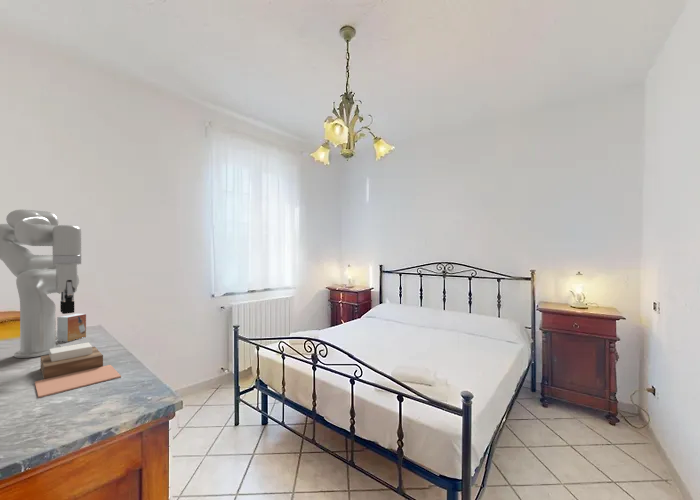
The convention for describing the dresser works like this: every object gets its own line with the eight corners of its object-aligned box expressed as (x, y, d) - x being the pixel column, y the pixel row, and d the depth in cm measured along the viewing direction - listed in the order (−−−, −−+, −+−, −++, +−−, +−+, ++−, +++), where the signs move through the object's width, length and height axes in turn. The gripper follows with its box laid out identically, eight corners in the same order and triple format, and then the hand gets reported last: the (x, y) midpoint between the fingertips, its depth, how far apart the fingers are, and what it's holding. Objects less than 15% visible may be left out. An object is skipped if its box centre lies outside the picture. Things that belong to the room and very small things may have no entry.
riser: (40, 368, 103) (40, 356, 103) (94, 357, 113) (94, 346, 113) (44, 380, 94) (44, 367, 94) (103, 367, 104) (103, 355, 104)
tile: (49, 356, 103) (49, 349, 103) (88, 349, 110) (88, 342, 110) (51, 361, 98) (51, 353, 98) (92, 353, 106) (92, 346, 106)
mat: (34, 382, 92) (34, 381, 92) (110, 365, 105) (110, 364, 105) (38, 397, 83) (38, 396, 83) (121, 377, 96) (121, 375, 96)
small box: (67, 342, 132) (67, 317, 132) (56, 341, 133) (56, 316, 133) (86, 337, 140) (86, 313, 140) (76, 336, 141) (76, 313, 141)
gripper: (50, 260, 113) (50, 311, 113) (55, 261, 102) (55, 317, 102) (77, 259, 118) (77, 308, 118) (85, 260, 107) (85, 314, 107)
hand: (67, 311), depth 110 cm, fingers open, 3 cm apart
